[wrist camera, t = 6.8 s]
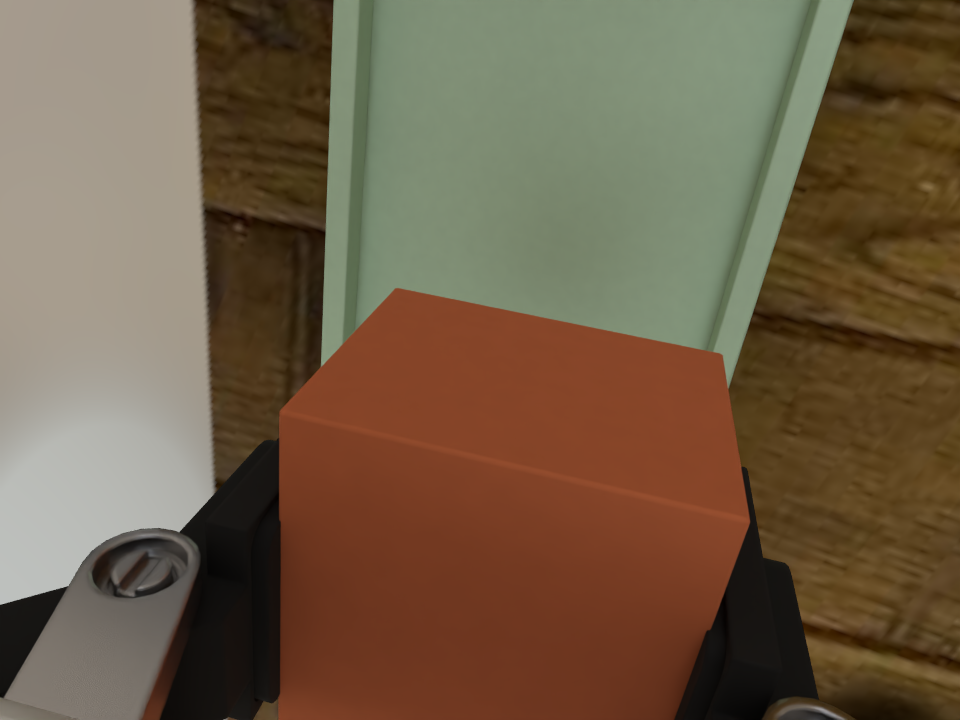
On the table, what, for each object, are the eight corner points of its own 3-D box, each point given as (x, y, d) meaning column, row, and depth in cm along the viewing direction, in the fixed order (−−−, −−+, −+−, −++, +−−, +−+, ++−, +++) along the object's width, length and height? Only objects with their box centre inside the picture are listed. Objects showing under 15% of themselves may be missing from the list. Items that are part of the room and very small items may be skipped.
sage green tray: (362, -143, 21) (338, -155, 19) (864, -81, 19) (882, -87, 18) (337, 384, 29) (318, 406, 27) (692, 465, 27) (694, 494, 25)
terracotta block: (395, 285, 12) (277, 410, 8) (723, 352, 11) (752, 521, 7) (373, 577, 14) (276, 766, 11) (634, 646, 14) (623, 872, 10)
